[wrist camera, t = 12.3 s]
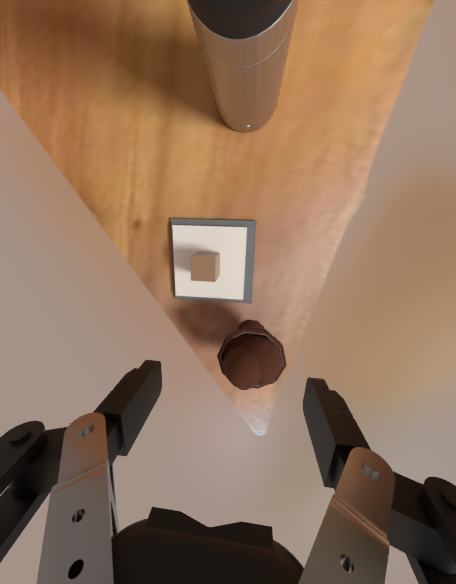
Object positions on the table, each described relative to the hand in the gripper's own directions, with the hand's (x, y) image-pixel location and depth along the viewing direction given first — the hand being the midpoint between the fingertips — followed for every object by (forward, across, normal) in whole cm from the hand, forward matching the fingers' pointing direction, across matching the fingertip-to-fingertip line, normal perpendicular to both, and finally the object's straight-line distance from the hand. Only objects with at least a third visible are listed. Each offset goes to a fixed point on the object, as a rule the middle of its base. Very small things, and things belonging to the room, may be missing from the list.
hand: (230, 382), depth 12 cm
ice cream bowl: (+30, -2, +12) cm, 32 cm away
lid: (+29, +7, -1) cm, 30 cm away
